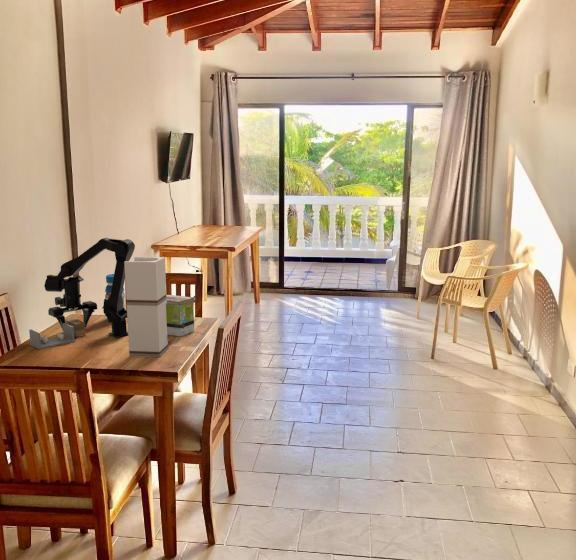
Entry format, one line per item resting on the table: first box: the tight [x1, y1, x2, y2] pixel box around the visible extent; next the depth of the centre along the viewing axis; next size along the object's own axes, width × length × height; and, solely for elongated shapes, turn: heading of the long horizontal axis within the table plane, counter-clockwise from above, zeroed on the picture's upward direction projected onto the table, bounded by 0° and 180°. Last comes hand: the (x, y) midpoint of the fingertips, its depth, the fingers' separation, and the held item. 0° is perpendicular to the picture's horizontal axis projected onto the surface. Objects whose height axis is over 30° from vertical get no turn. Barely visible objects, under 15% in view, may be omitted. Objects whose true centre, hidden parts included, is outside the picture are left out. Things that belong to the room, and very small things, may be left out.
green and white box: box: [166, 294, 195, 337], centre depth 259 cm, size 15×10×15 cm, turn 63°
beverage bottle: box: [104, 273, 126, 320], centre depth 280 cm, size 8×8×20 cm
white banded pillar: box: [124, 256, 170, 358], centre depth 230 cm, size 11×11×35 cm
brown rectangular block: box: [65, 317, 87, 338], centre depth 259 cm, size 11×4×6 cm, turn 44°
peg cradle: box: [28, 323, 76, 350], centre depth 245 cm, size 14×9×6 cm, turn 134°
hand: (74, 329), depth 259 cm, fingers open, 9 cm apart
